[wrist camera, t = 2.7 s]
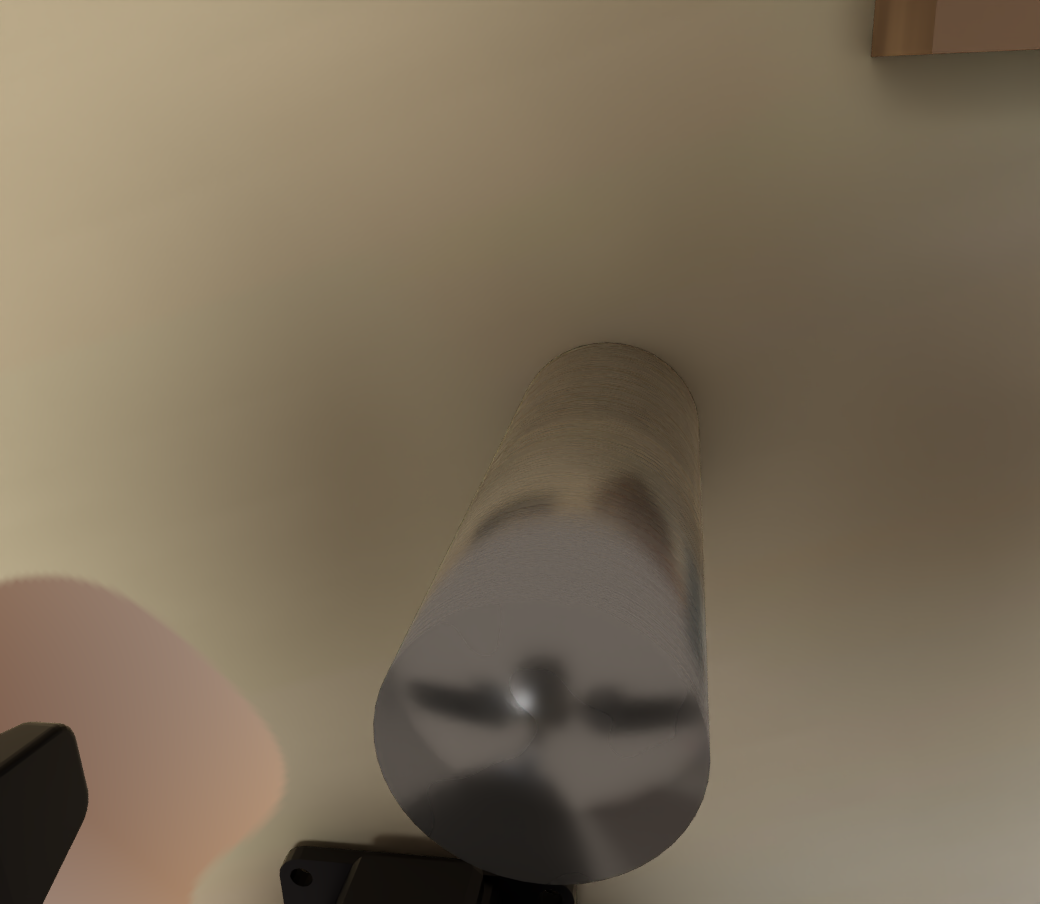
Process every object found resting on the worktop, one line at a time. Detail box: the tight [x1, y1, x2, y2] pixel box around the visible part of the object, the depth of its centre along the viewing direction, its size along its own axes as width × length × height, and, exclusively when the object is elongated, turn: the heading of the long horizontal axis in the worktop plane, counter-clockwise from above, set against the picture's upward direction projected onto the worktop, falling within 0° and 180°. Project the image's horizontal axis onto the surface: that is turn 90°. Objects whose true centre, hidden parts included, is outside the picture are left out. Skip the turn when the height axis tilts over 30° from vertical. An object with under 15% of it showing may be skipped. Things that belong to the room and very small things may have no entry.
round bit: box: [373, 343, 710, 885], centre depth 14 cm, size 3×3×9 cm
